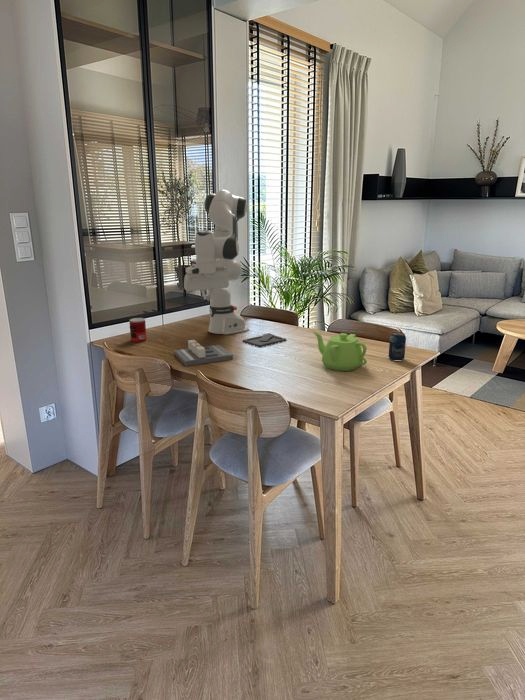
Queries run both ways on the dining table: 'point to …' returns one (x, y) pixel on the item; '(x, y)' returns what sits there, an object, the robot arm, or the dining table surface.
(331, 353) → the teapot
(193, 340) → the block
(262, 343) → the picture frame
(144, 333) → the canned food
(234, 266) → the robot arm
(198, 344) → the breaker mid
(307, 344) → the dining table surface
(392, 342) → the soda can
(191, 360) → the panel
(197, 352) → the breaker
